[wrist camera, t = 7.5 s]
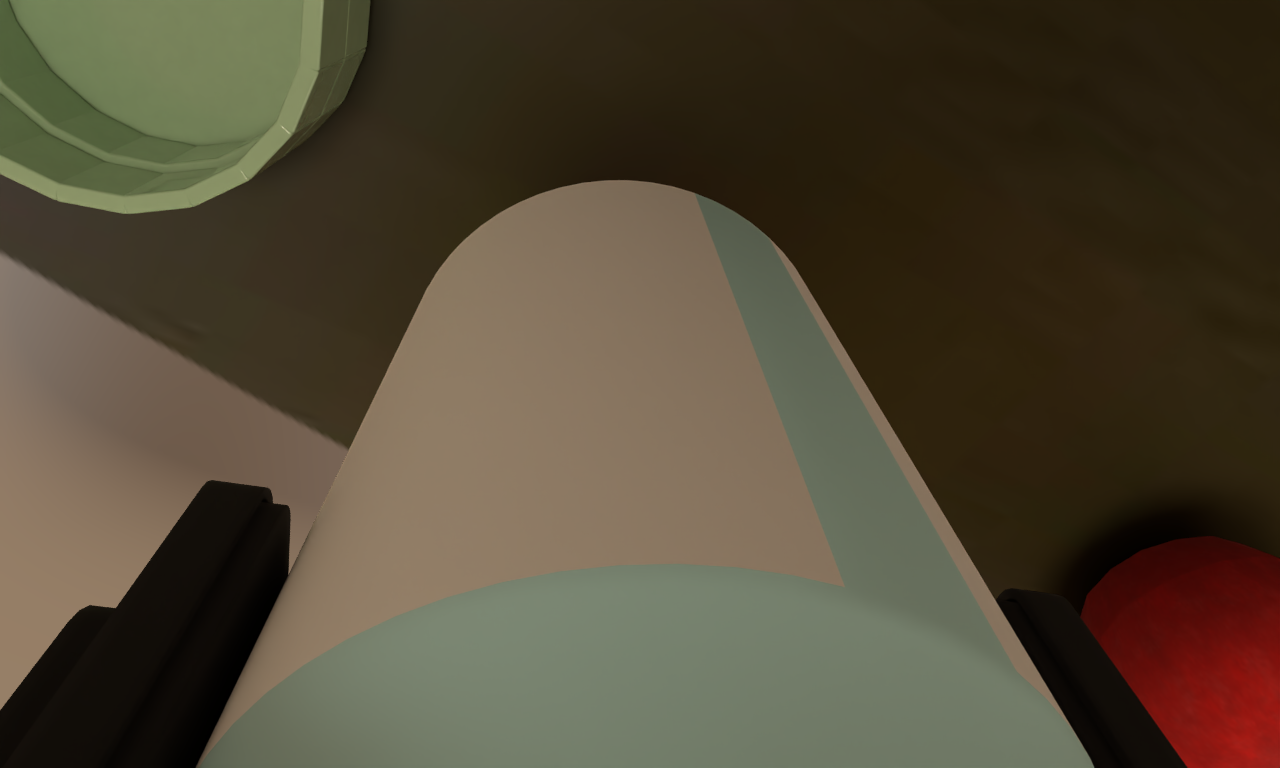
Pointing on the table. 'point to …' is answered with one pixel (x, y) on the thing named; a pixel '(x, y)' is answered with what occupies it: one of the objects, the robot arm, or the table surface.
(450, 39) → the table surface
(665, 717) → the can
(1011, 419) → the table surface
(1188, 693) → the apple
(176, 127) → the green faceted bowl
